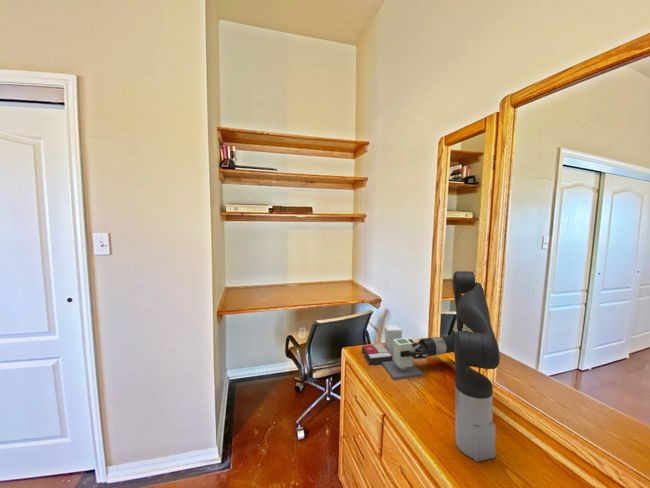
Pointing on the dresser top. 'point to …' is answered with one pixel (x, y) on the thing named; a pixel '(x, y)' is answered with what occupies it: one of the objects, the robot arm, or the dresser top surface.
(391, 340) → the supplement box
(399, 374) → the post stand
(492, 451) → the robot arm
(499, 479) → the dresser top surface
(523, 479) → the dresser top surface
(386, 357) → the dark gray paneled box
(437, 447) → the dresser top surface
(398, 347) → the sleeve
